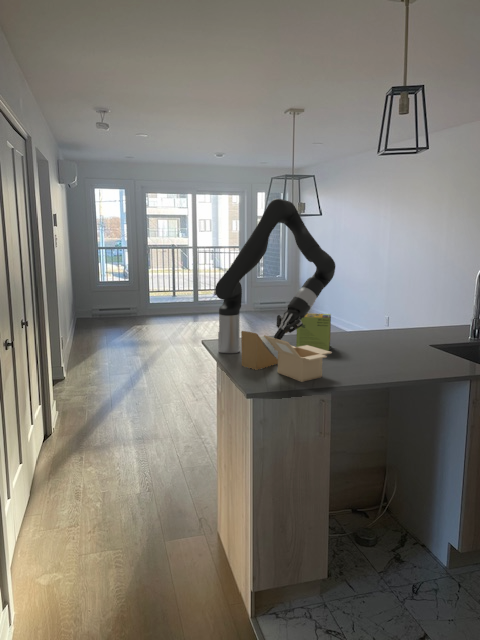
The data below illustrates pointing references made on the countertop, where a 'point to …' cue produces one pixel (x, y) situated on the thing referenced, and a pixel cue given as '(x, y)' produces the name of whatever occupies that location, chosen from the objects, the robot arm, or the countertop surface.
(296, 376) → the carton
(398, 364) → the countertop surface
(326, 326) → the protein box
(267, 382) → the countertop surface
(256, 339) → the sandwich container
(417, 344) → the countertop surface
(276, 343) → the flap
